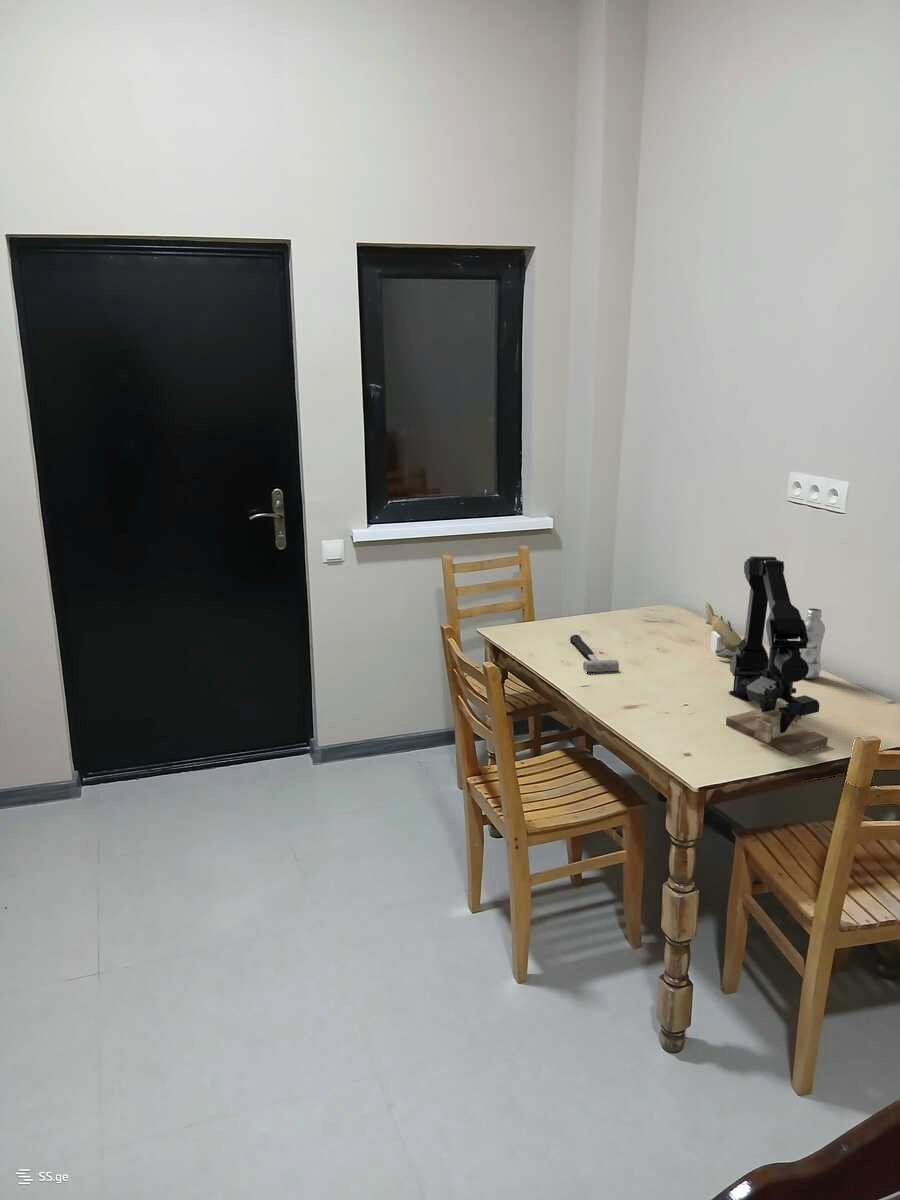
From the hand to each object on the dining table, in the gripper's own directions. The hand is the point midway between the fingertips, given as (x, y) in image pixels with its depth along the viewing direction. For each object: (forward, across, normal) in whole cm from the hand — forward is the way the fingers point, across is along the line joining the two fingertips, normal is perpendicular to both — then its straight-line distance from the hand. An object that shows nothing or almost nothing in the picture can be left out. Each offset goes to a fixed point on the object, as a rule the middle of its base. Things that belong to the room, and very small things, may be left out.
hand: (775, 729), depth 196 cm
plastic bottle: (+3, -27, +42) cm, 50 cm away
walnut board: (+3, -3, +3) cm, 5 cm away
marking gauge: (+2, 0, +2) cm, 2 cm away
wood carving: (+3, -57, +38) cm, 68 cm away
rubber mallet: (+4, -72, -2) cm, 72 cm away
